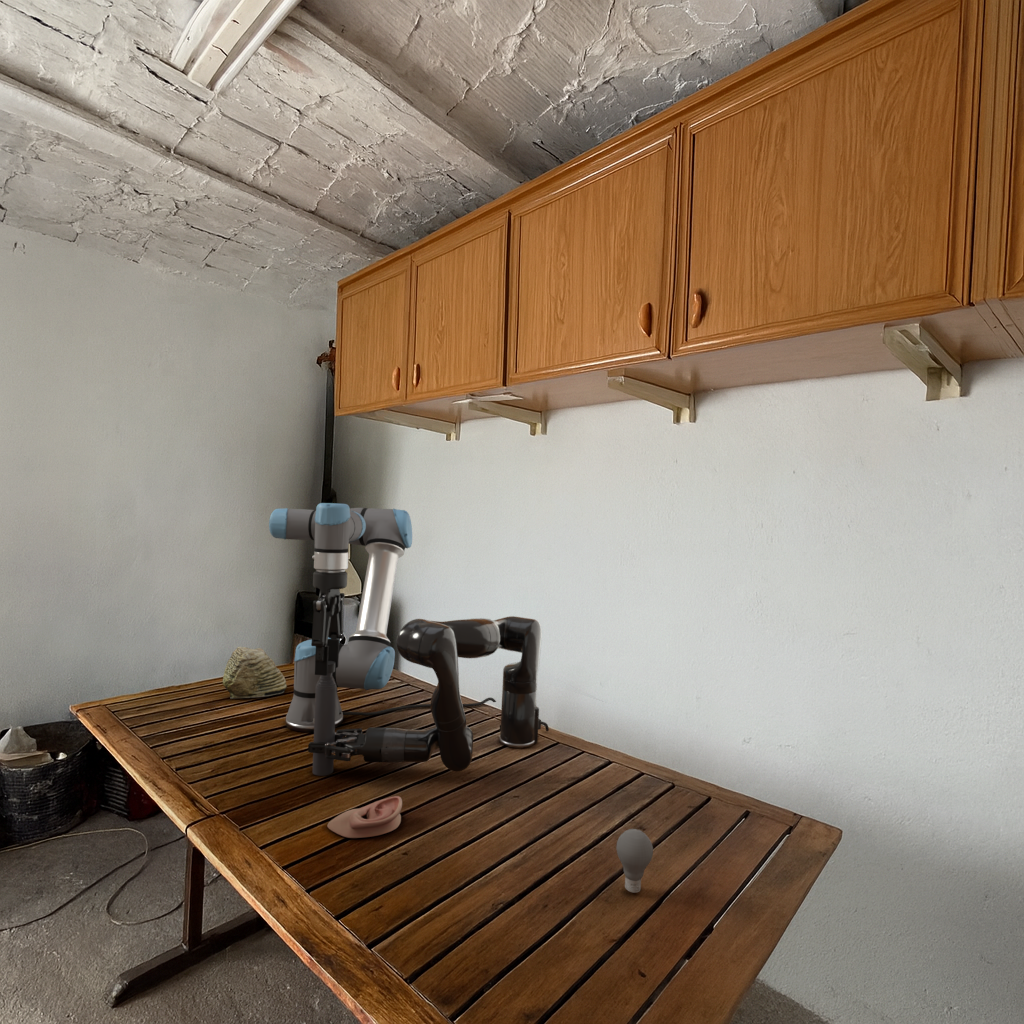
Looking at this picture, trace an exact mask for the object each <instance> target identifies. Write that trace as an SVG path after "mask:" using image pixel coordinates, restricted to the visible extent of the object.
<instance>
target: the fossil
mask: <svg viewBox="0 0 1024 1024" xmlns="http://www.w3.org/2000/svg"><path fill="white" fill-rule="evenodd" d="M222 676H223V677H222V685H223V687H224V688H225V690H226V691H228V693H229V698H230V699H250V698H264V697H271V696H275V695H281V694H284V693H285V691H286V689H287V687H288V686H287V680H286V678H285V676H284V674H283V673H282V672H281V669H279V668H278V667H277V665H276V663H275V662H274V660H273V659H272V658H271V657H270V656H269V655H268V654H267V653H266V652H265V650H264V649H263V648H260V647H258V648H251V647H247V646H246V647H245V646H238V647H237V648H236V649H235V650H233V651H232V653H231V656H230V657H229V659H228V660H227V663H226V666H225V668H224V671H223V675H222Z"/></svg>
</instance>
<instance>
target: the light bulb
mask: <svg viewBox="0 0 1024 1024" xmlns="http://www.w3.org/2000/svg"><path fill="white" fill-rule="evenodd" d="M615 849H616V854H617V857H618V859H619V861H620V863H621V865H622V867H623V873H624V874H623V875H624V876H625V878H624V888H625V890H627V891H628V892H630V893H634V894H635V893H639V892H640V891H641V889H642V887H641V886H642V879H643V877H644V875H645V871H646V868H647V867H648V866H649V864H650V863H651V861H652V859H653V855H654V847H653V843H652V841H651V838H649V836H648V835H647V834H646V833H645V832H643V831H642V830H641V829H636V828H629V829H627V830H625V831H623V832H622V833H621V834H620V835H619V837H618V839H617V841H616V847H615Z"/></svg>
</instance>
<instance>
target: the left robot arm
mask: <svg viewBox="0 0 1024 1024" xmlns="http://www.w3.org/2000/svg"><path fill="white" fill-rule="evenodd" d="M268 524H269V525H268V528H269V533H270V535H271V536H272V537H273V538H274V539H281V540H299V541H303V540H304V541H314V549H313V554H312V560H314V561H313V569H315V570H314V572H313V573H312V575H313V576H312V587H313V588H315V589H319V594H318V598H317V600H313V602H312V608H313V612H312V613H313V616H312V631H311V639H307V640H304V641H302V642H300V643H298V644H297V645H296V647H295V655H294V659H293V661H294V670H293V671H294V672H293V695H292V696H293V697H292V699H291V702H290V704H289V708H288V711H287V713H286V715H285V726H286V728H287V729H289V730H291V731H294V732H295V731H296V732H301V733H314V718H315V692H316V684H317V682H318V681H319V679H320V677H321V675H325V676H327V675H328V661H334V662H335V672H333V673H332V676H333V678H334V681H335V683H336V686H337V688H336V714H335V728H337V727H339V726H340V725H342V723H343V722H344V716H364V717H366V716H367V717H368V716H369V717H370V716H377V715H381V714H382V715H383V714H387V713H390V712H394V711H400V710H407V709H408V710H409V709H419V708H431V705H430V704H431V703H422V704H411V705H409V704H408V705H402V706H401V705H400V706H395V707H391V708H386V709H382V710H378V711H371V712H370V711H369V712H361V711H343V709H342V706H341V702H340V699H339V695H338V688H340V689H341V688H342V689H359V690H365V691H370V690H382V689H383V688H384V687H385V686H387V684H388V683H389V681H390V678H391V677H392V676H391V675H392V673H393V671H394V666H395V657H396V652H395V651H396V650H395V649H394V647H392V646H391V641H390V639H389V638H388V636H387V633H388V625H389V621H390V620H389V619H390V614H391V608H392V607H391V606H392V600H393V594H394V587H395V582H396V575H397V568H398V561H399V559H400V558H402V557H403V556H404V555H405V550H406V549H410V548H411V547H412V544H413V526H412V519H411V516H410V514H409V512H408V511H407V510H404V509H397V508H376V507H351V508H350V506H349V505H348V504H347V503H338V502H337V503H335V502H334V503H333V502H320V503H318V504H317V506H316V507H315V509H304V508H288V507H284V508H275V509H274V510H273V511H272V512H271V514H270V516H269V521H268ZM349 545H353V546H364V547H365V551H366V552H367V554H368V561H367V566H366V572H365V577H364V583H363V589H362V594H361V599H360V605H359V612H358V616H357V623H356V628H355V632H354V633H352V634H351V635H350V636H348V641H347V644H344V643H343V644H342V643H341V641H340V640H343V639H344V609H345V608H344V603H345V597H346V594H345V593H344V592H341V590H342V589H346V588H347V586H348V572H347V571H346V570H347V569H349ZM489 701H491V702H493V703H496V702H497V700H496V698H493V697H487V698H484V699H483V700H481V701H479V702H475V703H474V702H473V703H462V705H463V708H472V707H478V706H482V705H484V704H486V703H488V702H489Z"/></svg>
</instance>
